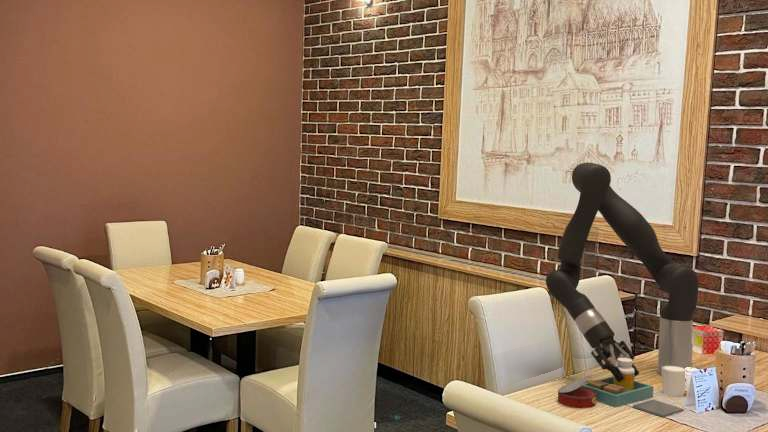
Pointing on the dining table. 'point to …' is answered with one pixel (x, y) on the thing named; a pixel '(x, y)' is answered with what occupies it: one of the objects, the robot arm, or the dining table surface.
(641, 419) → the dining table surface
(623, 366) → the supplement bottle
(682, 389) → the cream cylinder
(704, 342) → the red patterned cube
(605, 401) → the teal tray
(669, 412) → the coaster
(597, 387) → the walnut block
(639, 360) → the dining table surface
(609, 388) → the walnut block
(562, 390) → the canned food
